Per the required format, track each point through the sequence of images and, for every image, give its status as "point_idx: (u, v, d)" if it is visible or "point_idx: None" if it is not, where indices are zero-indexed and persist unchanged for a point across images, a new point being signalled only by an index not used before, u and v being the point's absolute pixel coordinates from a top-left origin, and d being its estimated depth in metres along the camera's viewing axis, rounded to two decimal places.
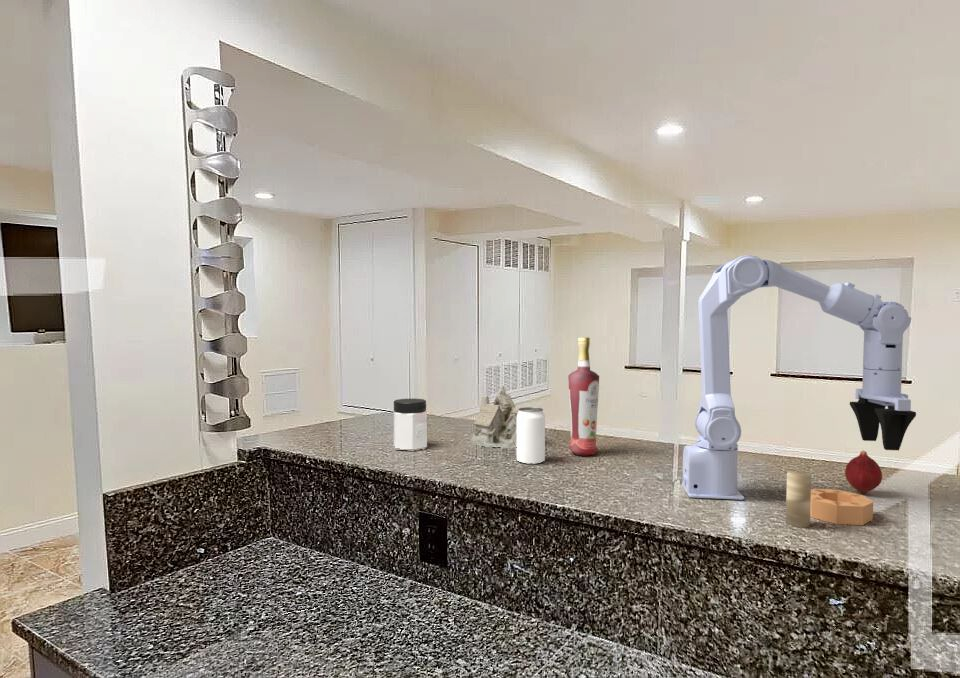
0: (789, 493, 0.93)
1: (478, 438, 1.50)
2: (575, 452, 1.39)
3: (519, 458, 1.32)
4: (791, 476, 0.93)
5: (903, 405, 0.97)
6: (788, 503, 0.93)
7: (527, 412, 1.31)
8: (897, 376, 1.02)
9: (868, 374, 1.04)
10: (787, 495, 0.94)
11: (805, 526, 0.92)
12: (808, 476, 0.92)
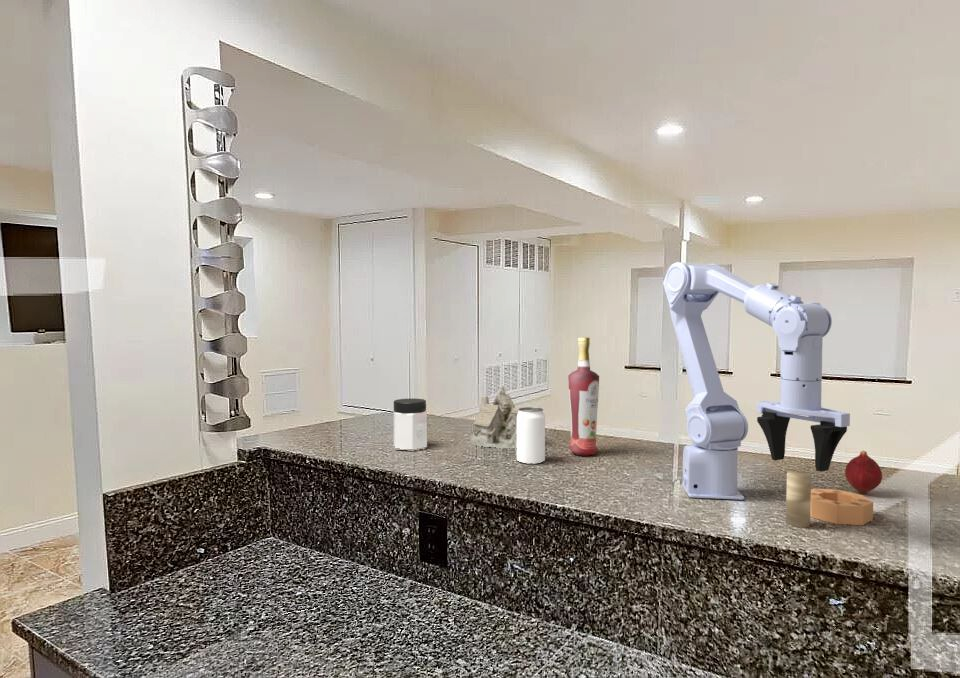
0: (789, 493, 0.93)
1: (478, 438, 1.50)
2: (575, 452, 1.39)
3: (519, 458, 1.32)
4: (791, 476, 0.93)
5: (845, 420, 0.86)
6: (788, 503, 0.93)
7: (527, 412, 1.31)
8: None
9: (795, 386, 0.91)
10: (787, 495, 0.94)
11: (805, 526, 0.92)
12: (808, 476, 0.92)
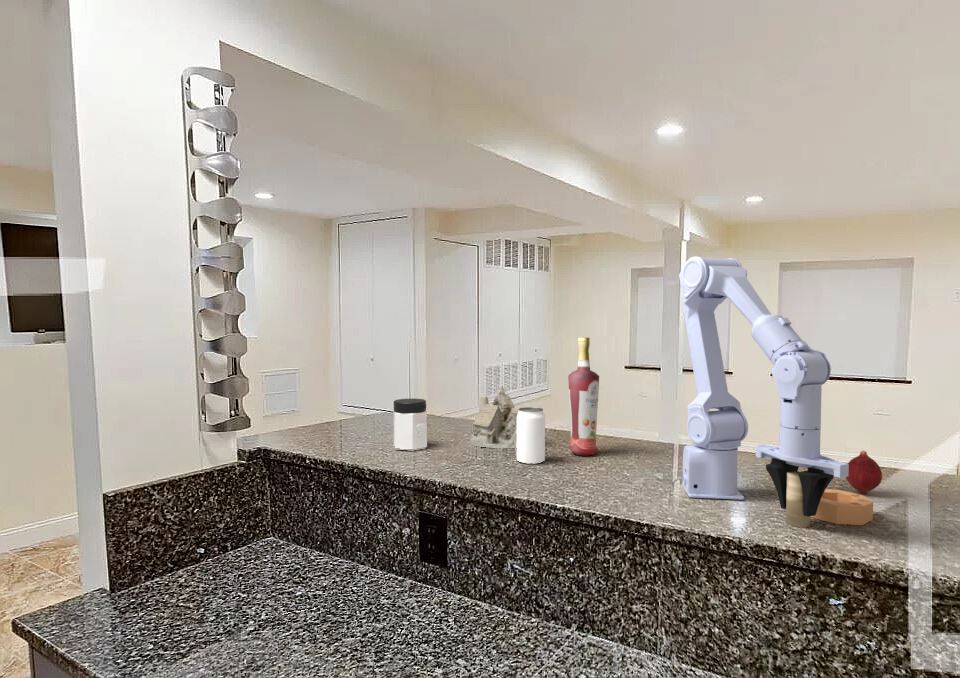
0: (789, 493, 0.93)
1: (477, 438, 1.49)
2: (575, 452, 1.39)
3: (519, 458, 1.32)
4: (791, 476, 0.93)
5: (844, 471, 0.87)
6: (788, 503, 0.93)
7: (527, 412, 1.31)
8: None
9: (794, 434, 0.91)
10: (787, 495, 0.94)
11: (805, 526, 0.92)
12: None
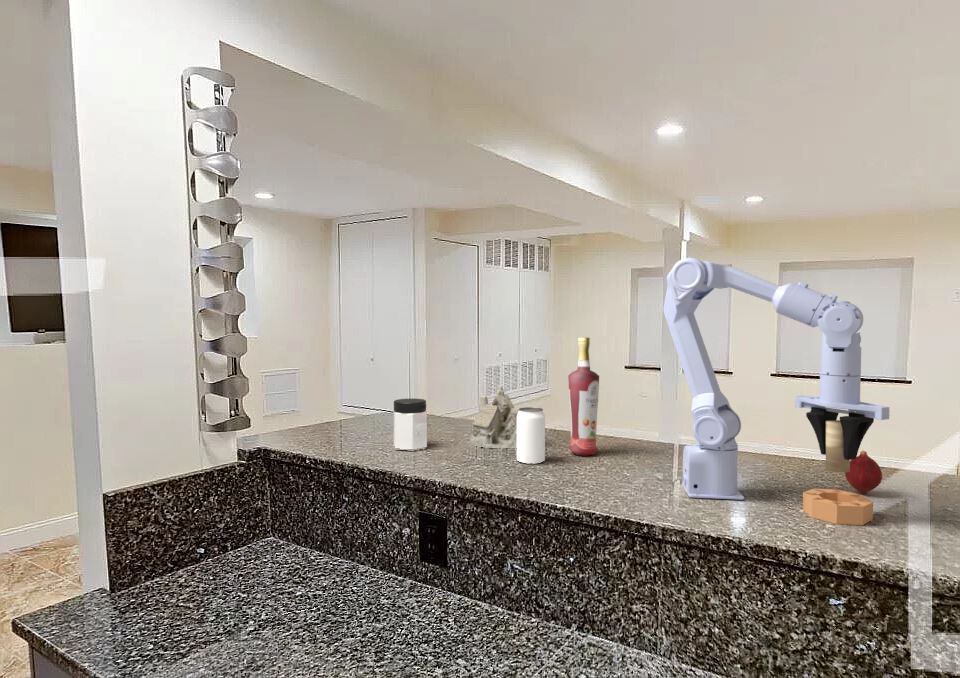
0: (829, 440, 0.97)
1: (477, 439, 1.49)
2: (575, 452, 1.39)
3: (519, 458, 1.32)
4: (830, 424, 0.96)
5: (885, 413, 0.91)
6: (828, 449, 0.97)
7: (527, 412, 1.31)
8: (860, 382, 0.95)
9: (835, 381, 0.95)
10: (827, 442, 0.97)
11: (845, 471, 0.96)
12: None
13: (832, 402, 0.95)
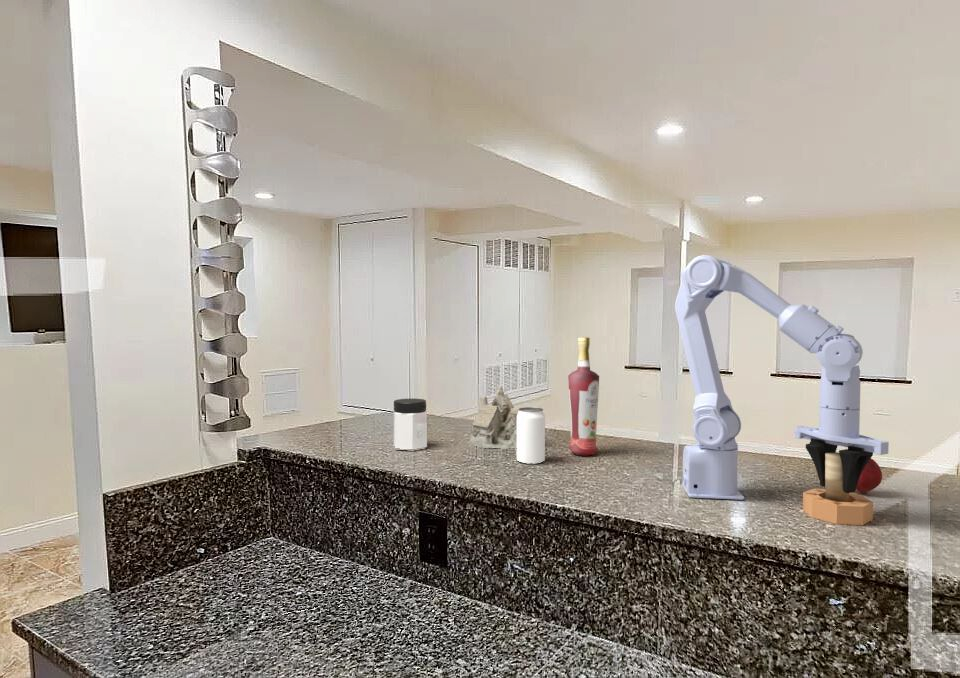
0: (828, 473, 0.97)
1: (477, 439, 1.49)
2: (575, 452, 1.39)
3: (519, 458, 1.32)
4: (830, 456, 0.97)
5: (884, 448, 0.91)
6: (827, 482, 0.97)
7: (527, 412, 1.31)
8: (859, 415, 0.95)
9: (834, 414, 0.95)
10: (826, 475, 0.98)
11: None
12: None
13: (831, 435, 0.95)
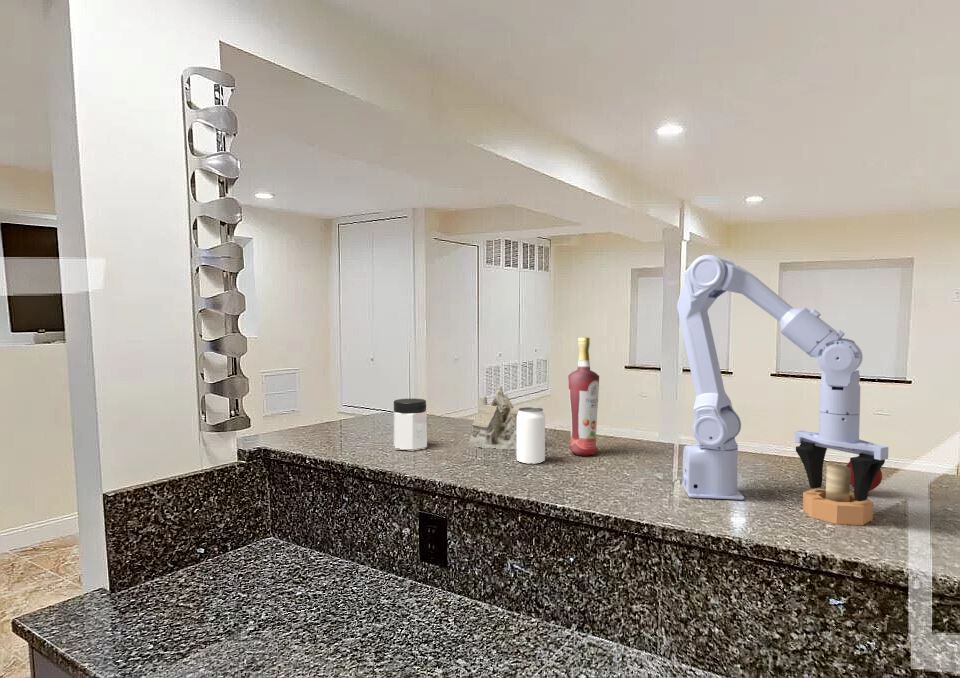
0: (829, 485, 0.97)
1: (476, 439, 1.48)
2: (575, 452, 1.39)
3: (519, 458, 1.32)
4: (831, 469, 0.97)
5: (884, 453, 0.91)
6: (828, 495, 0.97)
7: (527, 412, 1.31)
8: (859, 420, 0.95)
9: (834, 419, 0.95)
10: (827, 487, 0.98)
11: None
12: (848, 469, 0.96)
13: (831, 440, 0.95)
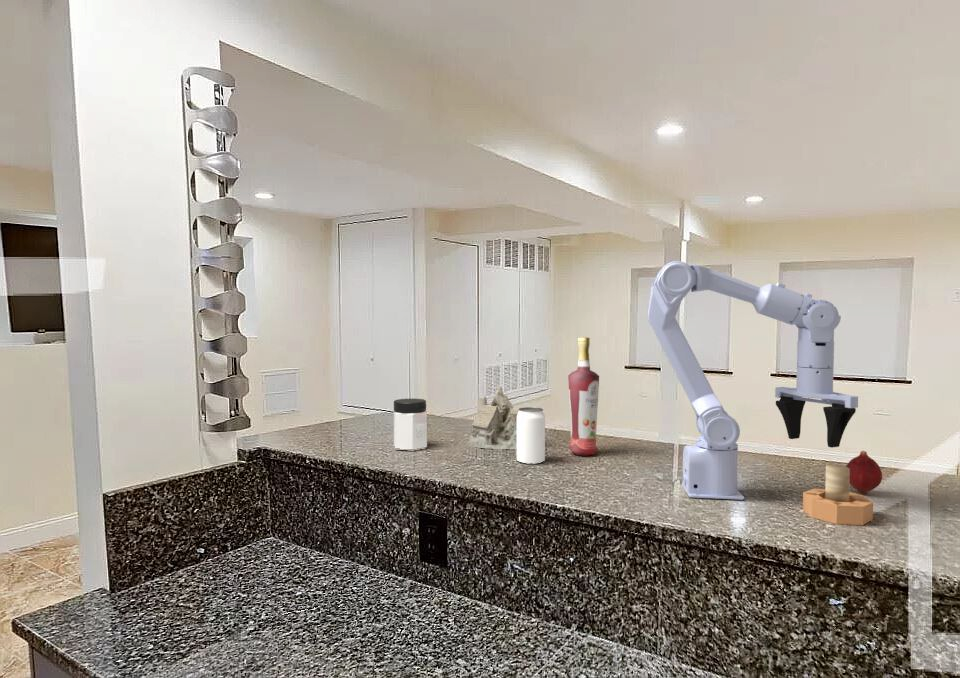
0: (828, 486, 0.97)
1: (476, 440, 1.48)
2: (575, 452, 1.39)
3: (519, 458, 1.32)
4: (830, 469, 0.97)
5: (854, 402, 0.99)
6: (828, 495, 0.97)
7: (527, 412, 1.31)
8: None
9: (809, 373, 1.03)
10: (826, 487, 0.98)
11: None
12: (847, 469, 0.96)
13: (807, 392, 1.04)
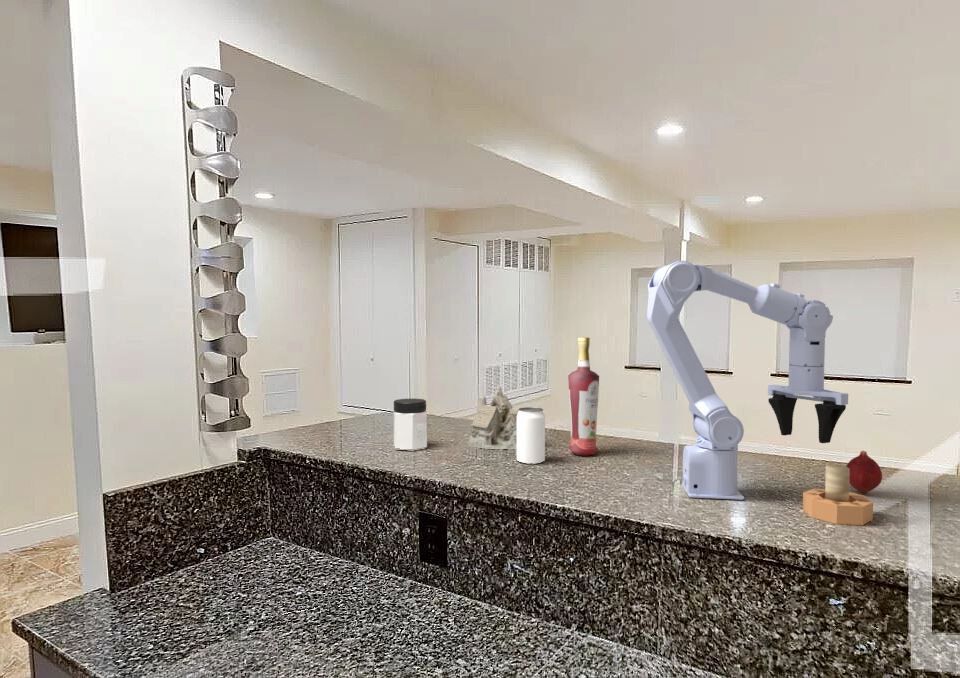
0: (828, 486, 0.97)
1: (476, 440, 1.48)
2: (575, 452, 1.39)
3: (519, 458, 1.32)
4: (830, 469, 0.97)
5: (844, 399, 1.02)
6: (828, 495, 0.97)
7: (527, 412, 1.31)
8: (823, 371, 1.07)
9: (801, 371, 1.06)
10: (826, 487, 0.98)
11: None
12: (847, 469, 0.96)
13: (799, 390, 1.07)
